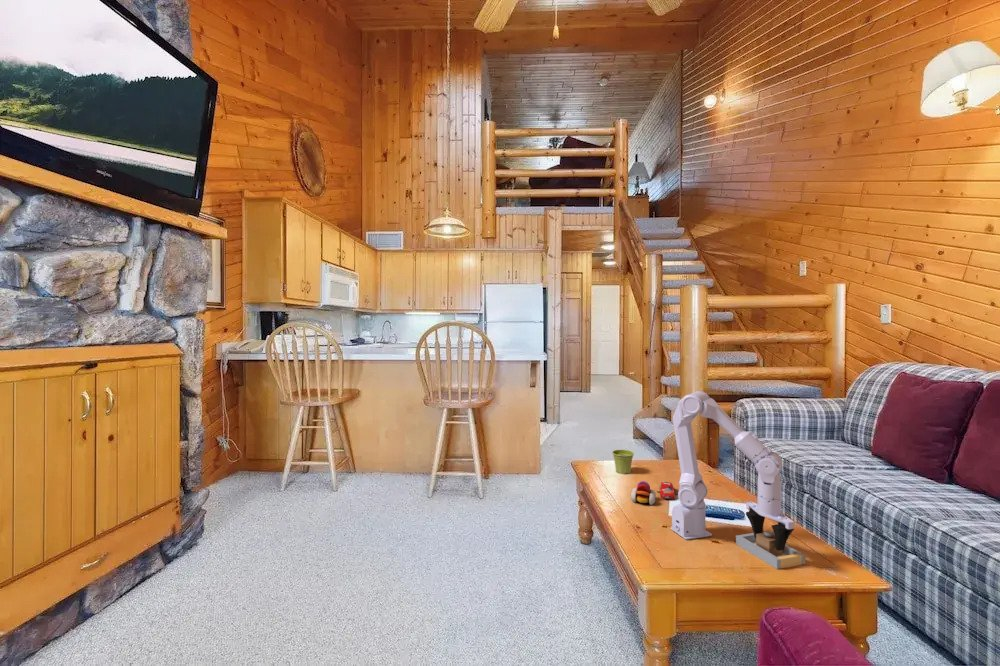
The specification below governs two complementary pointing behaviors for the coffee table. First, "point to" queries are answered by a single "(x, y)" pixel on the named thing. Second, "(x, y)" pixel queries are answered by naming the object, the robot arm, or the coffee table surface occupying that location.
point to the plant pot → (623, 460)
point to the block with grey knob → (767, 542)
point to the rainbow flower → (643, 493)
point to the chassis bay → (782, 561)
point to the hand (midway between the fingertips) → (768, 543)
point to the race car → (667, 490)
